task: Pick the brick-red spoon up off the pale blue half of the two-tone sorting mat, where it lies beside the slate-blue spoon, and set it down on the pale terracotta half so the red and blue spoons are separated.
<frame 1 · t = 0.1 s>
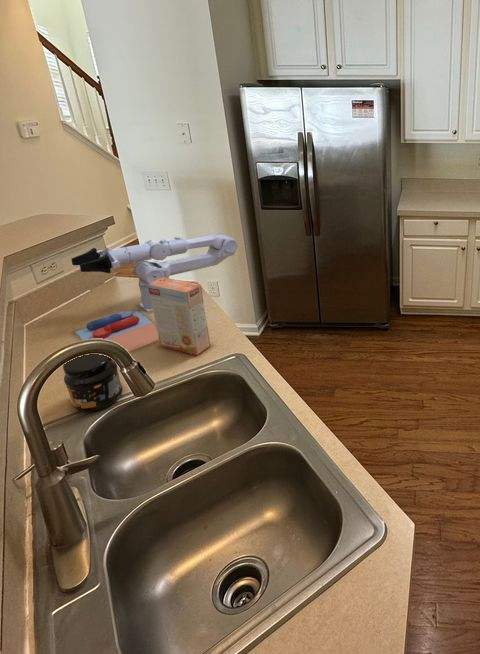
hand: (76, 265, 130), 22 cm above the counter, tool horizontal, fingers open, 7 cm apart
red spoon: (117, 330, 136), resting on sorting mat
supplement container: (99, 400, 107), on the counter
cracker box: (186, 346, 130), on the counter
sorting mat: (121, 334, 134), on the counter
blue spoon: (110, 323, 139), resting on sorting mat
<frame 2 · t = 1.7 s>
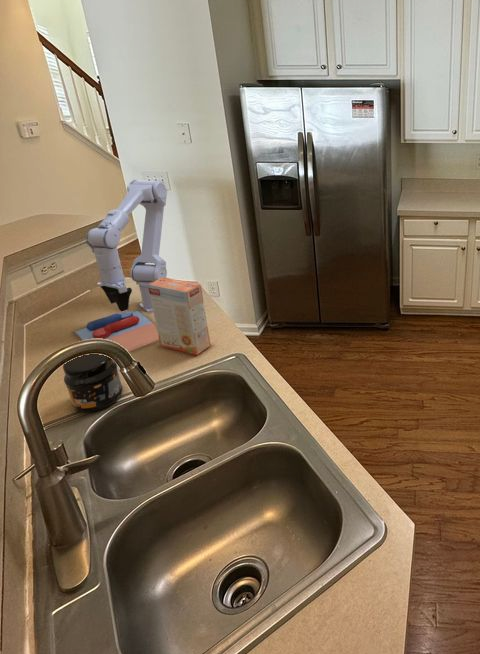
hand: (119, 306, 135), 8 cm above the counter, tool pointing down, fingers open, 7 cm apart
nothing on the counter moved.
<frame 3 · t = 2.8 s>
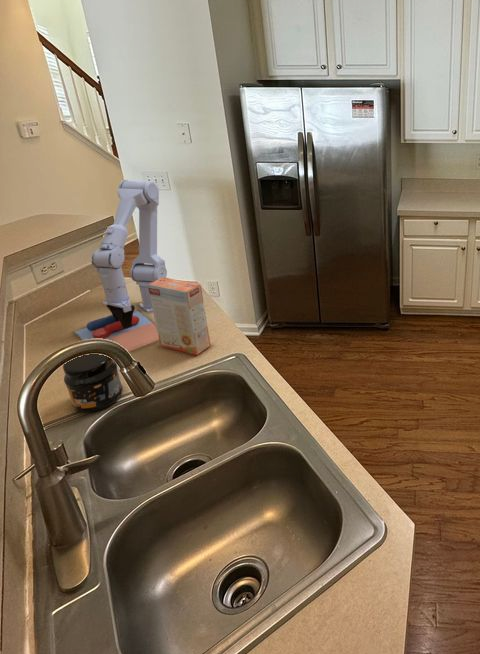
hand: (124, 324, 137), 2 cm above the counter, tool pointing down, fingers open, 5 cm apart
nothing on the counter moved.
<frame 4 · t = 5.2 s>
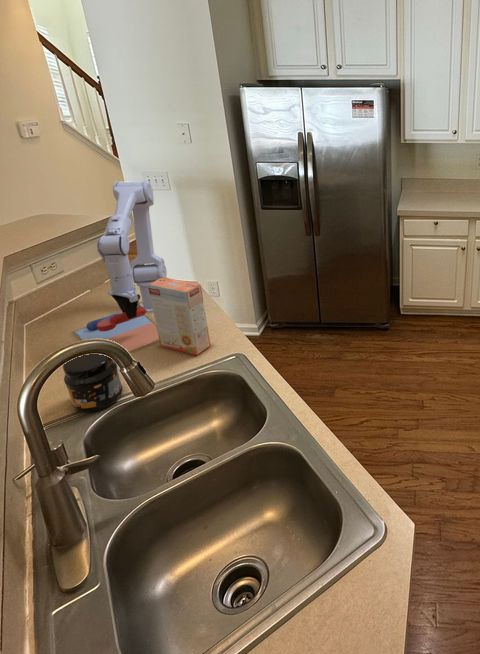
hand: (130, 315, 130), 8 cm above the counter, tool pointing down, fingers closed on red spoon, 3 cm apart
red spoon: (123, 321, 129), point 7 cm above the counter, touching gripper
everything else where it was.
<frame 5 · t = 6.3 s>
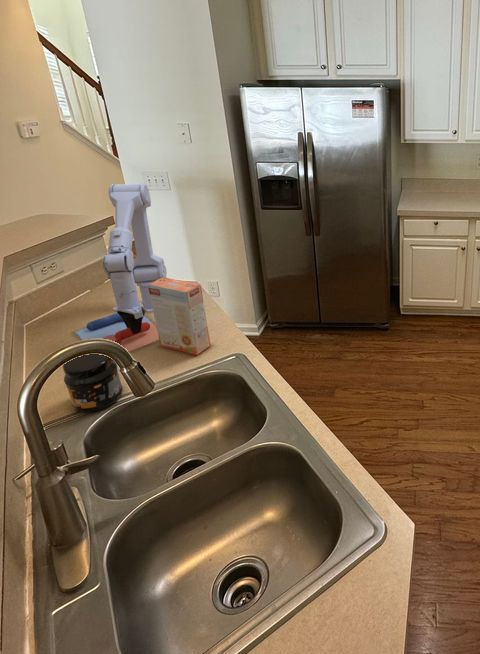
hand: (134, 330, 131), 3 cm above the counter, tool pointing down, fingers closed on red spoon, 3 cm apart
red spoon: (128, 337, 130), point 2 cm above the counter, touching gripper
everything else where it was.
when the fingers open (2 cm above the counter, at t = 7.0 s): red spoon stays where it is, resting on sorting mat.
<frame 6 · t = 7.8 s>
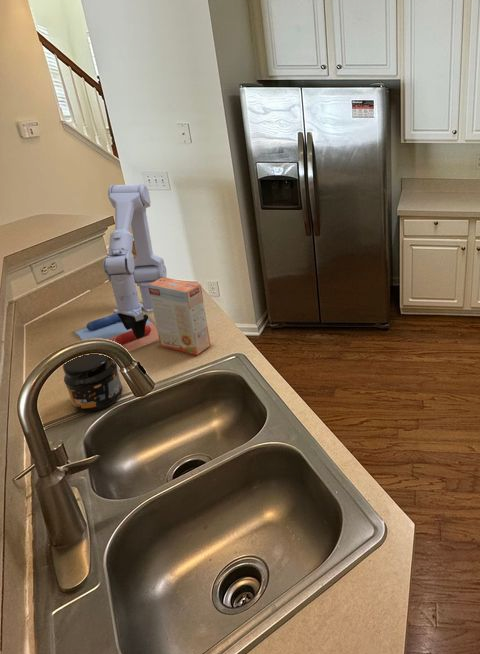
hand: (135, 332, 132), 2 cm above the counter, tool pointing down, fingers open, 7 cm apart
red spoon: (129, 340, 131), resting on sorting mat
everything else where it was.
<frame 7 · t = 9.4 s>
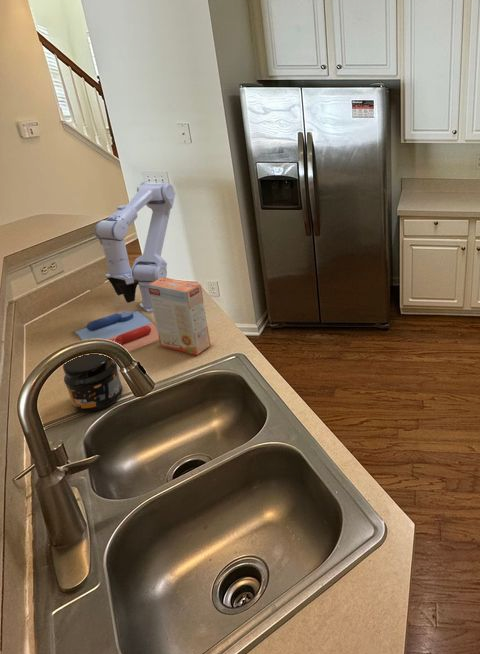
hand: (126, 297, 137), 9 cm above the counter, tool pointing down, fingers open, 7 cm apart
nothing on the counter moved.
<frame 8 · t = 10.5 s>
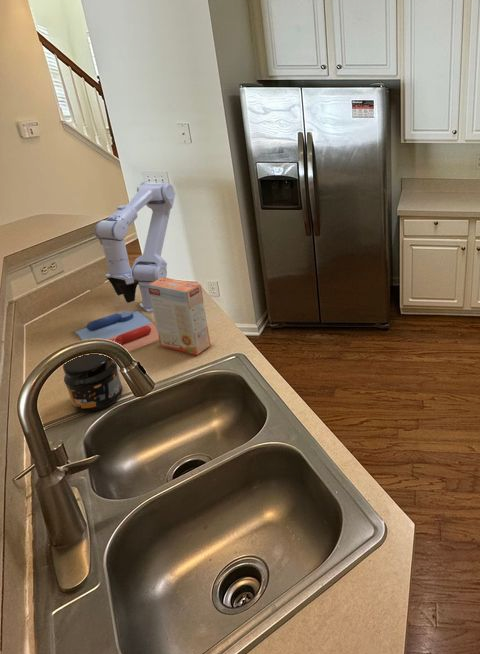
hand: (126, 297, 137), 9 cm above the counter, tool pointing down, fingers open, 7 cm apart
nothing on the counter moved.
at the end: red spoon inside the target area (0.5 cm from its centre), resting on sorting mat; blue spoon inside the target area (2.8 cm from its centre), resting on sorting mat; the gripper is holding nothing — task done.
